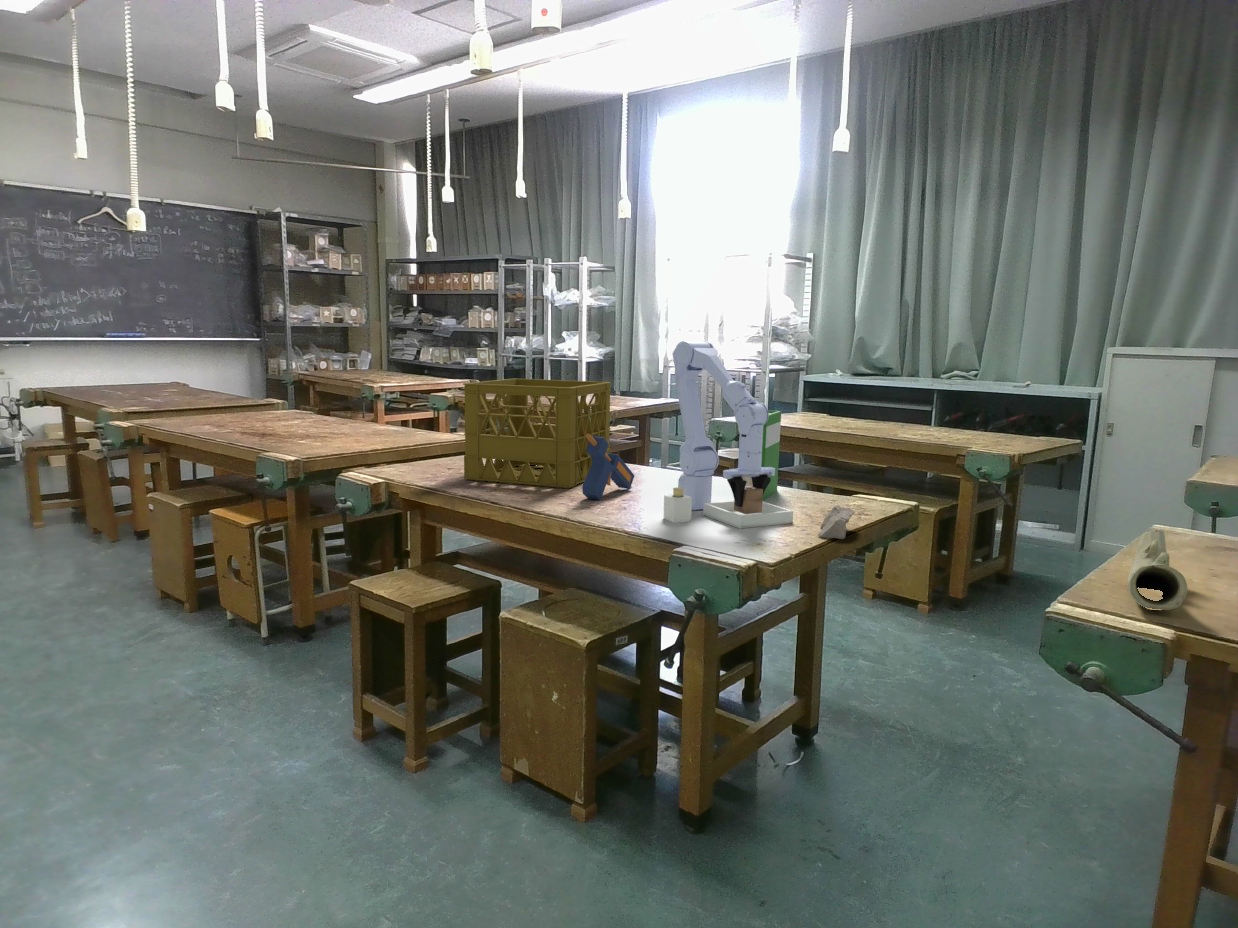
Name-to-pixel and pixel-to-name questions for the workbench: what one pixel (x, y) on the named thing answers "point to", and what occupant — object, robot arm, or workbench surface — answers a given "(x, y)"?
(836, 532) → the concrete fragment
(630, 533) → the workbench surface
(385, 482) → the workbench surface
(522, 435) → the milk crate
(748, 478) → the hardback book
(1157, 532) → the pipe
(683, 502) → the pale grey block
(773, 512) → the tray
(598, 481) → the glue gun
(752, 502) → the walnut block
